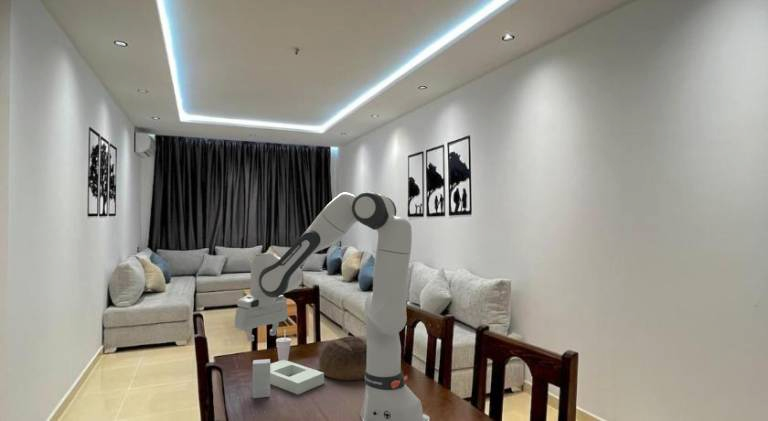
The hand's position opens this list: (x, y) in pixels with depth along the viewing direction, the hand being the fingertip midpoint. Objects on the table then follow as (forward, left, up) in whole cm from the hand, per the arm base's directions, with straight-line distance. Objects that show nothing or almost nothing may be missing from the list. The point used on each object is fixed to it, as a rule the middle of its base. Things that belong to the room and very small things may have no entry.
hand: (262, 337), depth 154 cm
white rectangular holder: (+2, -15, -20) cm, 25 cm away
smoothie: (+20, -27, -20) cm, 39 cm away
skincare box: (0, 0, -20) cm, 20 cm away
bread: (-8, -39, -21) cm, 45 cm away
